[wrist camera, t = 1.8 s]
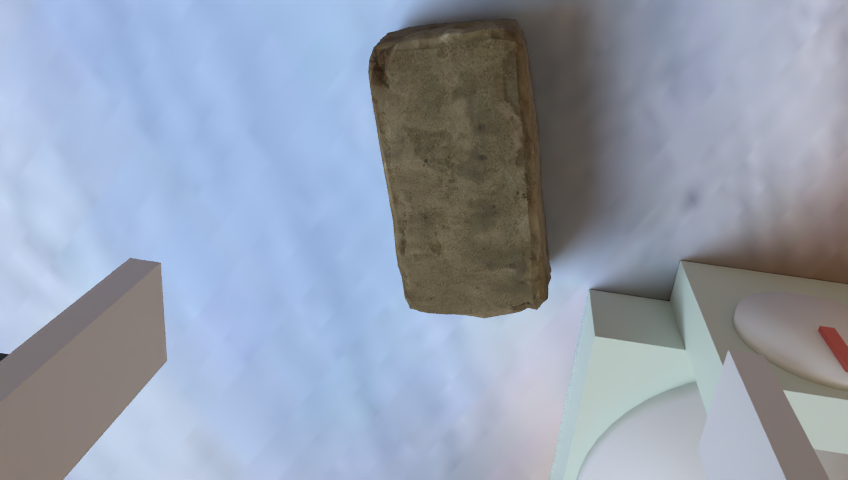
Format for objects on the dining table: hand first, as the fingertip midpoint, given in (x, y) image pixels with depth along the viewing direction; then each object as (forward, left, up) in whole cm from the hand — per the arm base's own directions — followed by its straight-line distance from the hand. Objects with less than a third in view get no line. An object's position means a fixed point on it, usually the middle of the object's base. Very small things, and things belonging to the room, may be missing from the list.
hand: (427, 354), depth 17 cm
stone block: (0, 0, -16) cm, 16 cm away
